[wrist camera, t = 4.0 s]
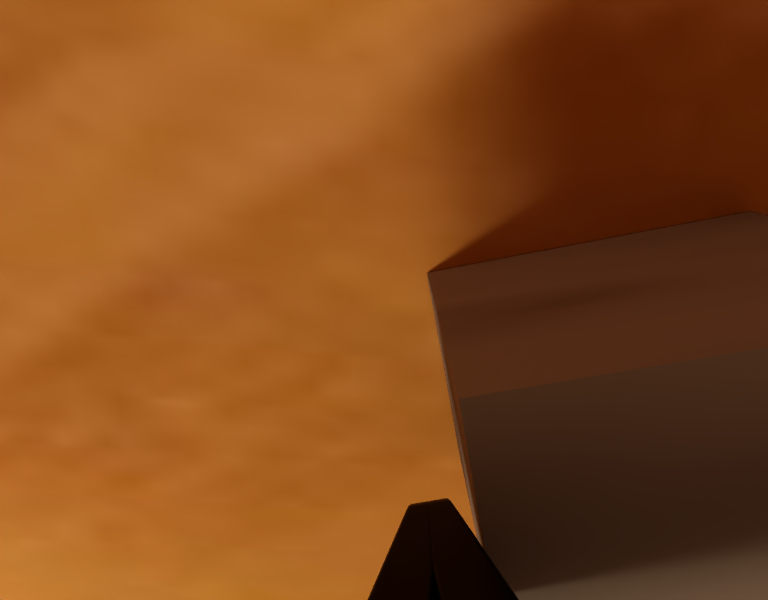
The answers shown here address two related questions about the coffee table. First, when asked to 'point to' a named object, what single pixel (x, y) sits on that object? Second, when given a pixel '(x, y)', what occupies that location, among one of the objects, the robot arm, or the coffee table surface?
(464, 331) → the walnut brick
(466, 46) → the coffee table surface
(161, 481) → the coffee table surface
